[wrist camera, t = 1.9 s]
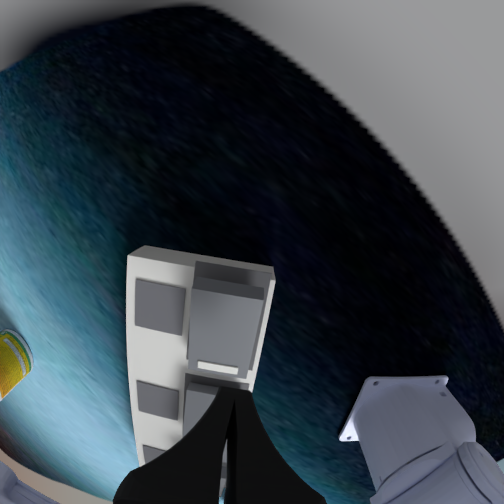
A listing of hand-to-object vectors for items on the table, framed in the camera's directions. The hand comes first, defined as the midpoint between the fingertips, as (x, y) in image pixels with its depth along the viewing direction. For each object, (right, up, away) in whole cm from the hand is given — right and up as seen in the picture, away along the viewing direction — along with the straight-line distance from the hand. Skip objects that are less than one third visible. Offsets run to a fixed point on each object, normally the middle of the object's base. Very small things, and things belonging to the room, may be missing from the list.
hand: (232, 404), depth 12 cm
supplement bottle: (-24, -4, +11) cm, 27 cm away
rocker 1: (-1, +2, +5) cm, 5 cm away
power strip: (-4, -4, +11) cm, 12 cm away
